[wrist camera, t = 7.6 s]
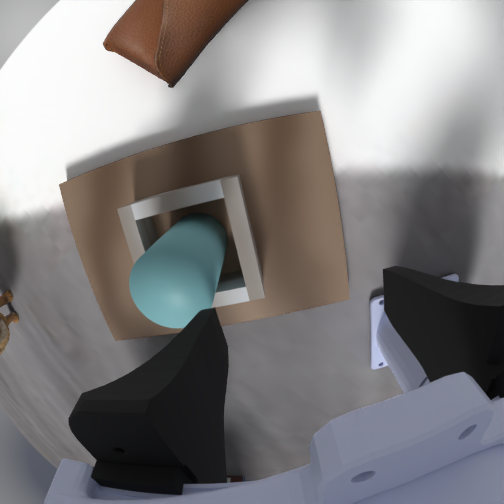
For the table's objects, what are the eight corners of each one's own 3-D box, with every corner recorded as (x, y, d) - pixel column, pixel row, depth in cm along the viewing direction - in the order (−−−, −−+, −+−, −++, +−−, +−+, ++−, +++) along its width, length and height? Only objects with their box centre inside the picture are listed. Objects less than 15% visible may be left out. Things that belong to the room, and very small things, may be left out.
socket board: (316, 113, 19) (332, 103, 15) (345, 292, 23) (362, 318, 19) (67, 182, 20) (36, 189, 16) (119, 333, 24) (102, 360, 20)
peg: (221, 207, 20) (202, 240, 12) (232, 263, 21) (222, 322, 13) (165, 218, 20) (118, 256, 12) (179, 271, 21) (144, 331, 14)
